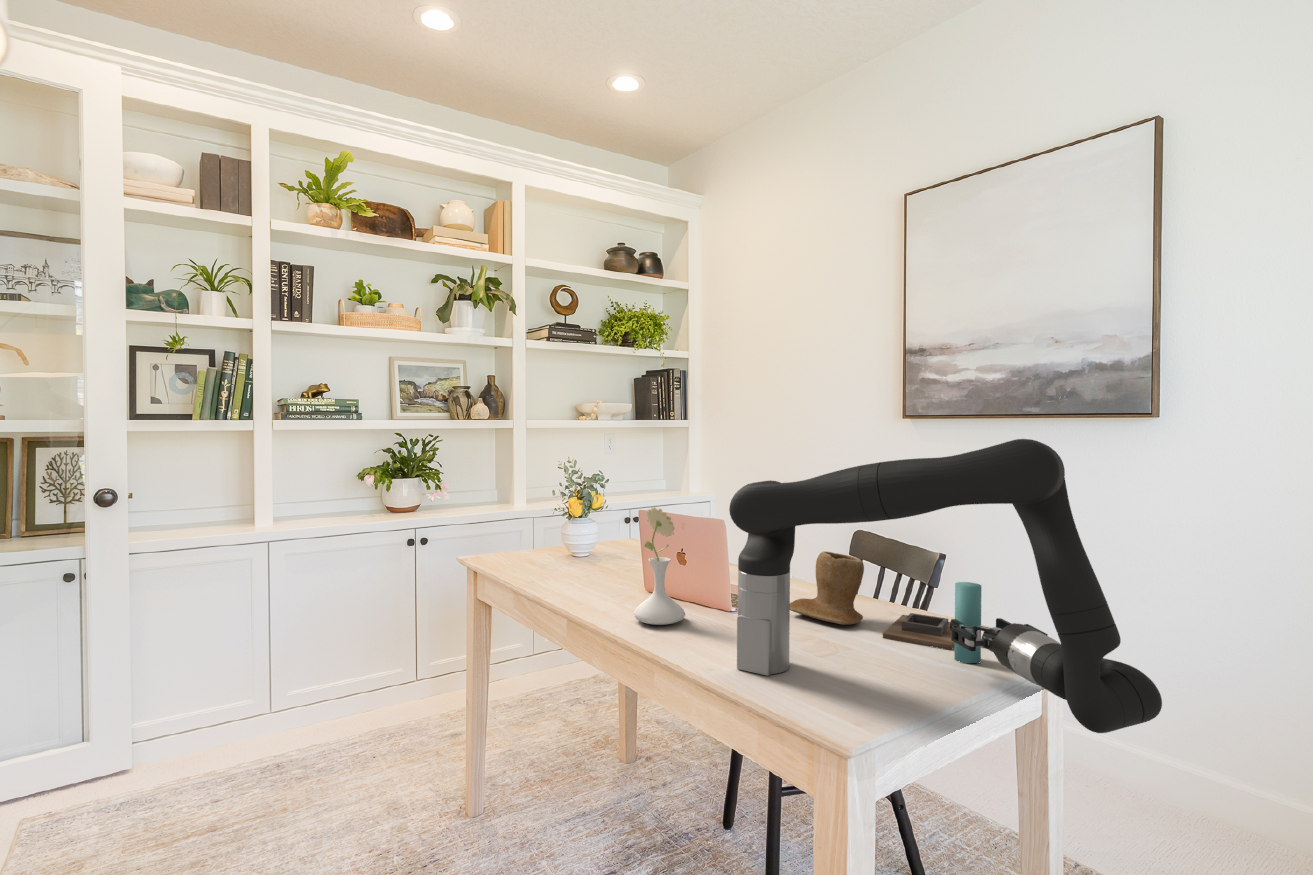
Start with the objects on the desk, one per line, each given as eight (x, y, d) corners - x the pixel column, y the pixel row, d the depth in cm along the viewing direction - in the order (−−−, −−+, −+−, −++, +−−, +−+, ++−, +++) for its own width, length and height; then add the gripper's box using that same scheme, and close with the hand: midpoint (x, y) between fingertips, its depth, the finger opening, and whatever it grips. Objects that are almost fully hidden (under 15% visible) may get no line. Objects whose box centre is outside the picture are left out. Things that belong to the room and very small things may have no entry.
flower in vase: (693, 625, 143) (694, 510, 143) (644, 631, 139) (644, 512, 139) (670, 610, 155) (670, 503, 155) (624, 615, 151) (624, 505, 151)
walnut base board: (951, 650, 128) (951, 635, 128) (882, 637, 136) (882, 624, 135) (965, 629, 142) (965, 616, 141) (902, 618, 149) (902, 606, 149)
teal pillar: (978, 665, 120) (979, 588, 120) (952, 661, 122) (953, 585, 122) (982, 658, 124) (983, 583, 123) (956, 654, 126) (957, 580, 126)
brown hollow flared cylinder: (875, 621, 147) (875, 554, 147) (843, 632, 139) (844, 561, 139) (817, 607, 159) (818, 544, 158) (786, 616, 151) (786, 550, 151)
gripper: (1076, 630, 105) (1012, 602, 121) (989, 632, 104) (937, 604, 120) (1075, 677, 105) (1012, 643, 121) (988, 680, 104) (936, 645, 120)
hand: (975, 623), depth 120 cm, fingers open, 8 cm apart
